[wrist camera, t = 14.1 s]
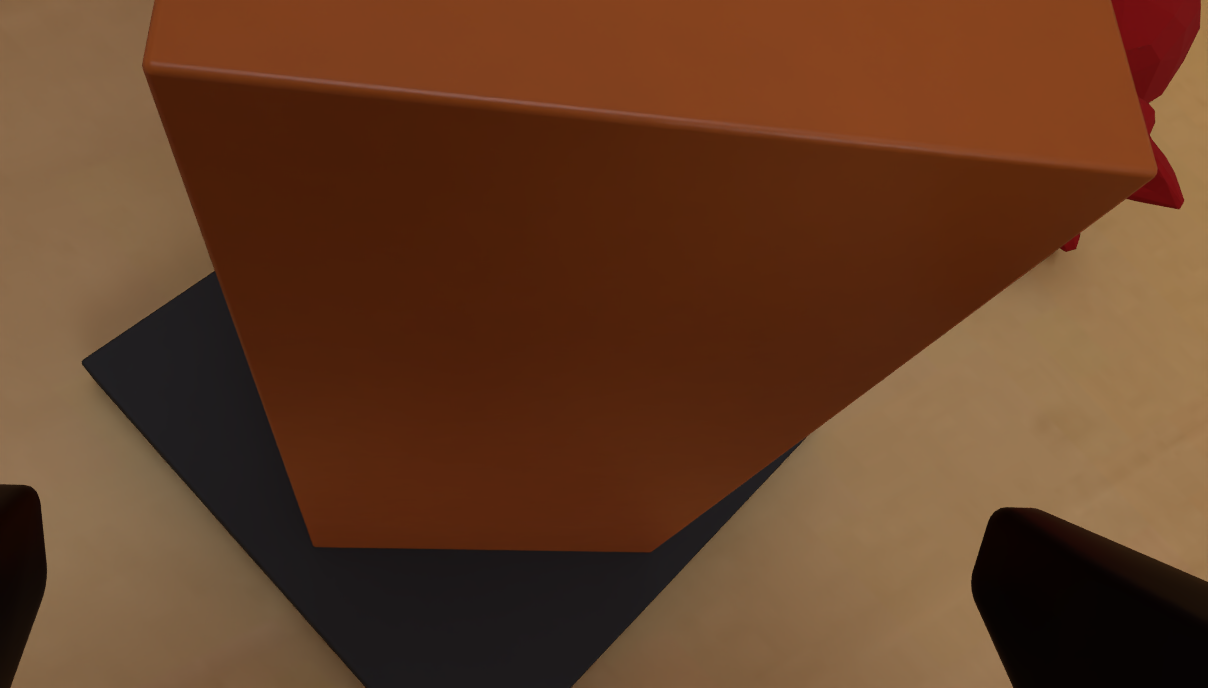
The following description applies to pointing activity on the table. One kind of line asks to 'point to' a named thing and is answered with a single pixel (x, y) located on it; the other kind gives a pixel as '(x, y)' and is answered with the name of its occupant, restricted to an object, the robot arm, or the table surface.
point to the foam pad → (376, 575)
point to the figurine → (1155, 75)
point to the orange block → (614, 232)
